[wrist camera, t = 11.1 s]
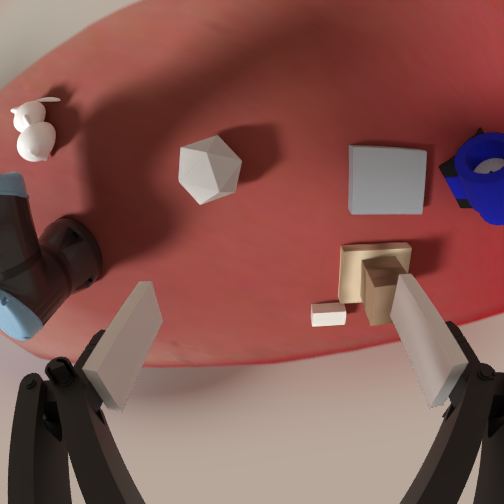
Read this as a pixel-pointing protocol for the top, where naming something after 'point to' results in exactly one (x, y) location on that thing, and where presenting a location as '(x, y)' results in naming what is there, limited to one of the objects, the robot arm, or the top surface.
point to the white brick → (328, 314)
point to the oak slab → (352, 265)
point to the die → (209, 169)
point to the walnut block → (379, 287)
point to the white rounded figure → (34, 130)
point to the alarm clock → (479, 176)
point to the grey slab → (386, 180)
